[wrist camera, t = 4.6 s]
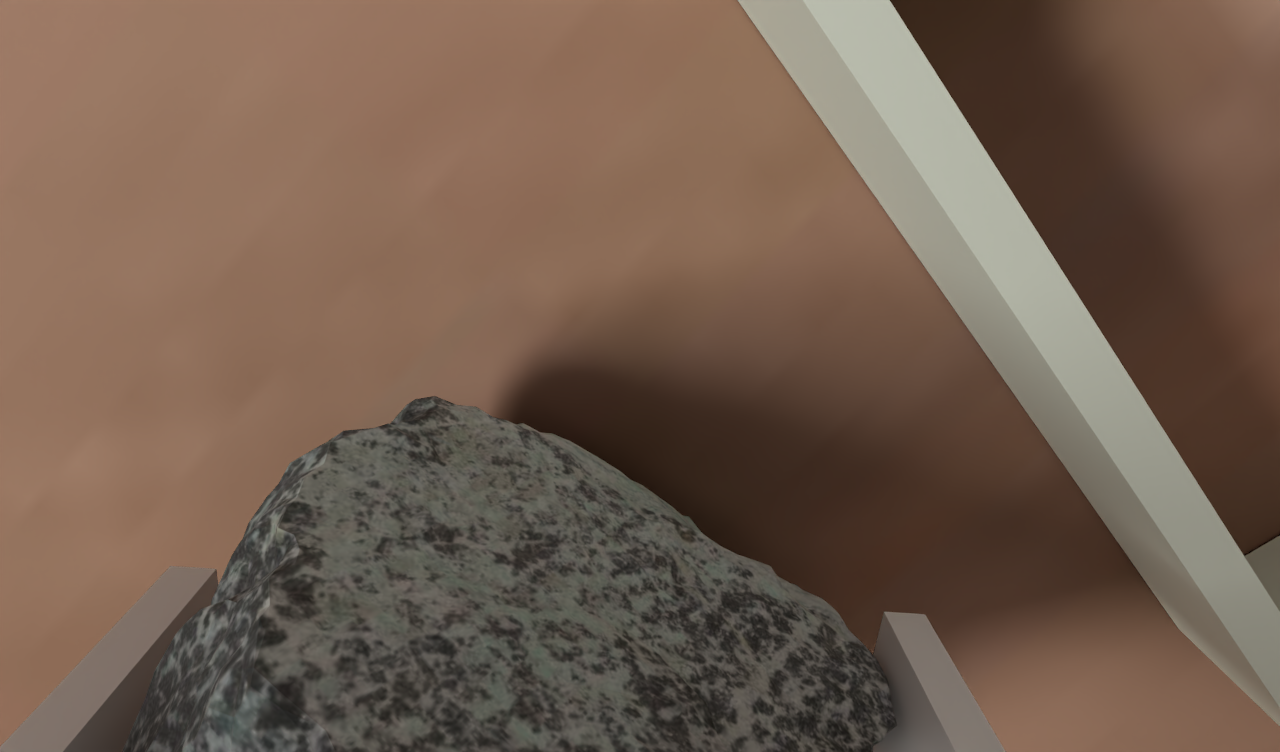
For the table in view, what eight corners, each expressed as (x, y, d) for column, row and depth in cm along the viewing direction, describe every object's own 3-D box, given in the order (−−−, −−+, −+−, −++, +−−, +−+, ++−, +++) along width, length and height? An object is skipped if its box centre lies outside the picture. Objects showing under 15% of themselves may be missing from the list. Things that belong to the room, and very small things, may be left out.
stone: (936, 1137, 4) (-150, 1689, 6) (1006, 835, 13) (545, 1102, 14) (425, 153, 9) (-84, 606, 11) (717, 403, 18) (402, 638, 19)
